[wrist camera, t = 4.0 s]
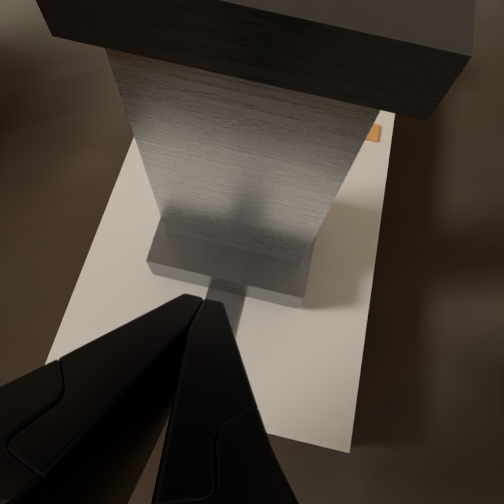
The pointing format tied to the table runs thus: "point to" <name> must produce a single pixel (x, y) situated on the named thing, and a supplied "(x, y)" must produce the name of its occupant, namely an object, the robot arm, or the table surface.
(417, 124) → the table surface
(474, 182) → the table surface
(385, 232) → the table surface
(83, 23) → the fader
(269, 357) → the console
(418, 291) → the table surface
